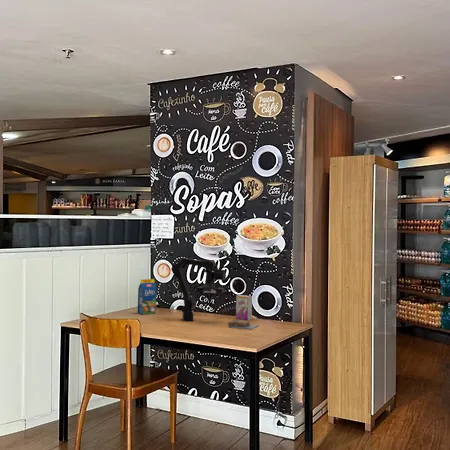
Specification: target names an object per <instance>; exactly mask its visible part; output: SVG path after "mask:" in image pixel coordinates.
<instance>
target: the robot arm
mask: <svg viewBox="0 0 450 450" xmlns="http://www.w3.org/2000/svg"><path fill="white" fill-rule="evenodd" d="M188 265H191V266H197V267H201V268H204V270H203V271H202V273H205V280H204V284H203V285H202V286H197V287H195V292H203V294H205V295H206V297H207V301H208V303H209V304H210V303H211V302H213V301H212V300H213V299H214V296H215V294H217V293H218V294H223V293H225V292H226V291H225V288H224V287H217V288H216V286H215V283H216V280H217V281H225V280H226V279H227V274H226V270H225V269H220V268H219V267H218V265H217V263H216V261H215V260H199V259H194V258H188V257H184V258H182V259H181V260H180V261H178V262H177V263H176V264H173V265H172V266H171V272H172V274H173V275H174V277H176V280H177V282H178V285H179V288H180V290H181V292H182V296H183V306H182V307H181V308H180V311H181V312H182V319H181V320H182V322H183V321H184V322H193V321H194V313H193V312H194V310H195V309H196V307H197V303H198V302H197V300H196V298H195V296H193V295H192V294H191V293H190V289H189V287H188V284H187V282H186V279H185V276H184V275H185V274H184V273H185V271H184V269H185V268H186V267H187V266H188Z"/></svg>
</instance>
